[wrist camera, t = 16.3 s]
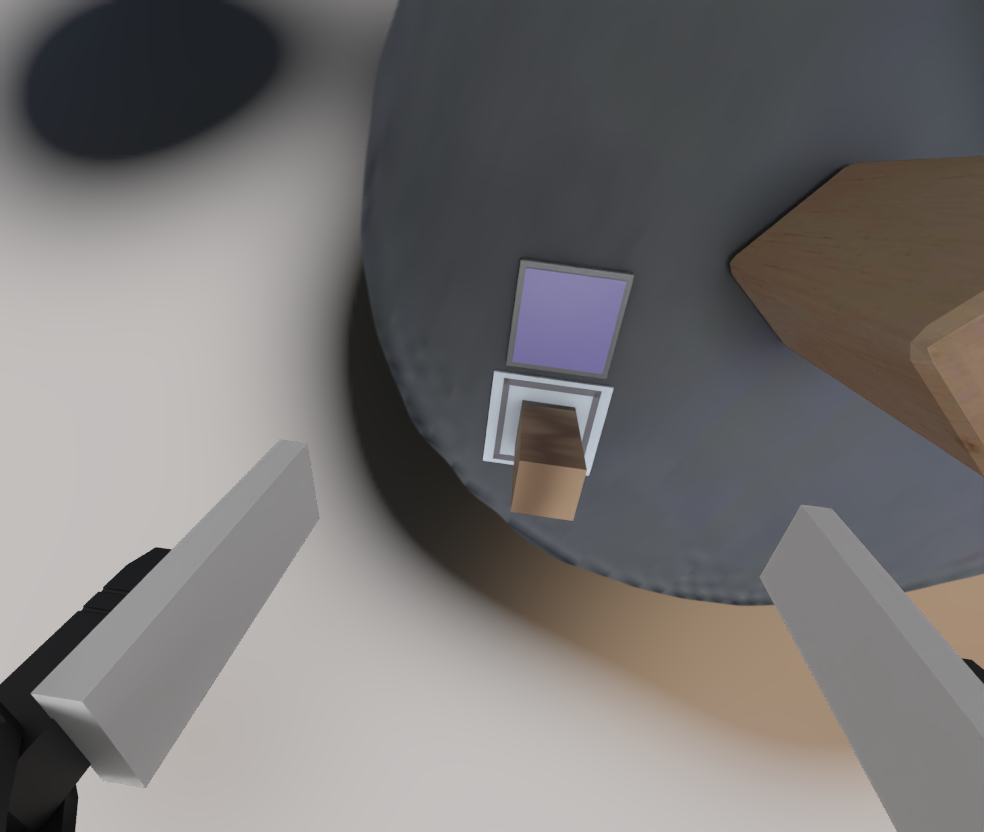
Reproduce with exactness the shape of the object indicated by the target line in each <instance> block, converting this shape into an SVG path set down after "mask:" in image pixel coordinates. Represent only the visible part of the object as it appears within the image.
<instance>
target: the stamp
mask: <svg viewBox="0 0 984 832" xmlns="http://www.w3.org/2000/svg"><path fill="white" fill-rule="evenodd" d="M586 472H587V468H586V463H585V457H584V452H583V446H582V441H581V436H580V430H579V425H578V419H577V414H576V409H575V407H569V406H562V405H555V404H548V403H541V402H534V401H527V400H522V406H521V412H520V418H519V424H518V430H517V436H516V442H515V453H514V468H513V483H512V498H511V512H515V513H522V514H529V515H536V516H543V517H550V518H557V519H564V520H571V521H573V519H574V515H575V512H576V508H577V504H578V501H579V497H580V494H581V490H582V486H583V483H584V479H585V475H586Z"/></svg>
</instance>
